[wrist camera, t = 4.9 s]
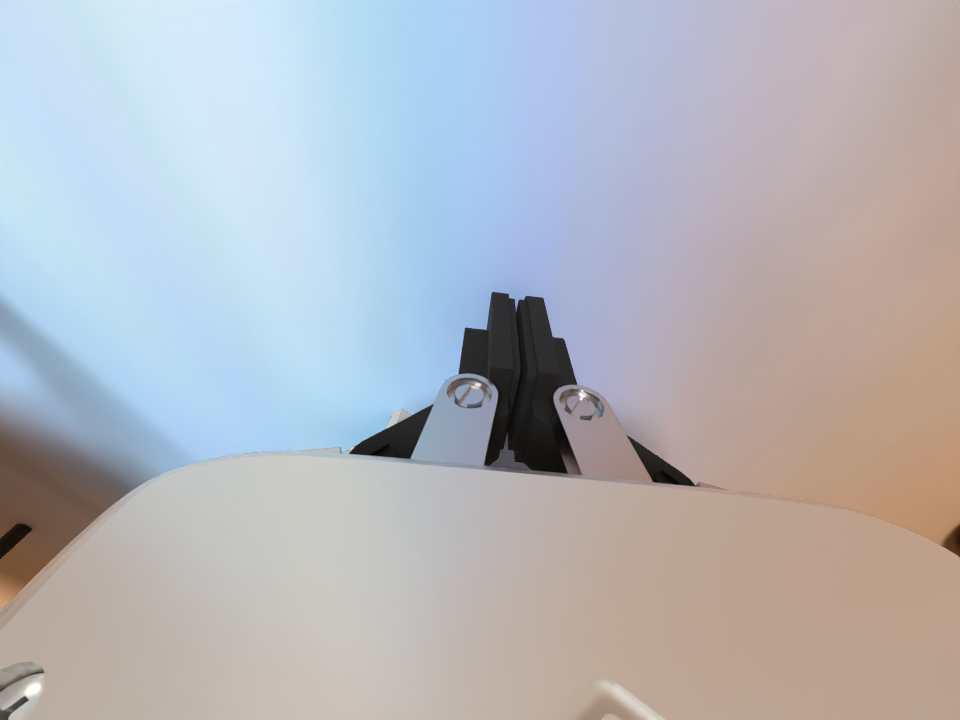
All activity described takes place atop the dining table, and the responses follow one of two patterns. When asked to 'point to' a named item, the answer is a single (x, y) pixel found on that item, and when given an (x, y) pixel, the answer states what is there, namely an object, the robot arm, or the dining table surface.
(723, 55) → the dining table surface
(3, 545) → the planter
